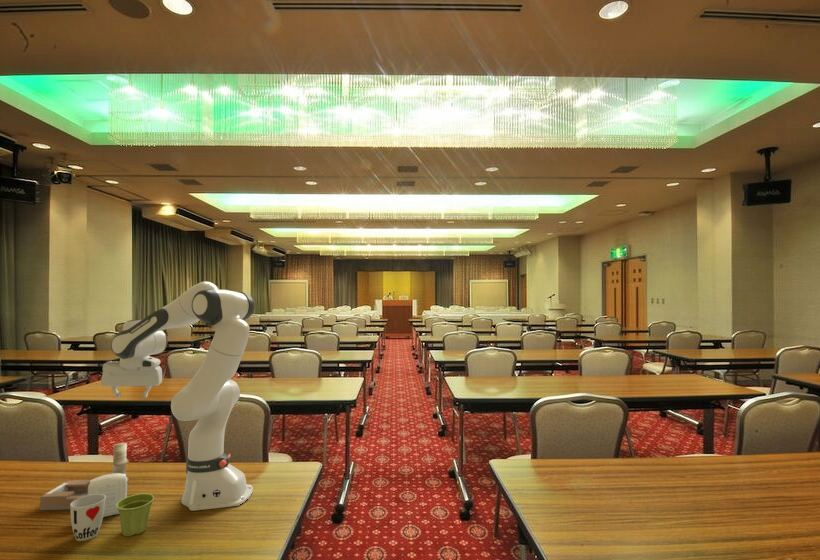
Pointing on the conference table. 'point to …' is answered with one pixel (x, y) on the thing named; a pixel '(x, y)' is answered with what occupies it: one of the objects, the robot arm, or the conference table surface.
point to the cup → (87, 516)
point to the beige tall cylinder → (120, 458)
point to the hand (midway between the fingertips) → (131, 397)
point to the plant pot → (134, 513)
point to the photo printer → (110, 490)
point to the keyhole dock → (64, 495)
